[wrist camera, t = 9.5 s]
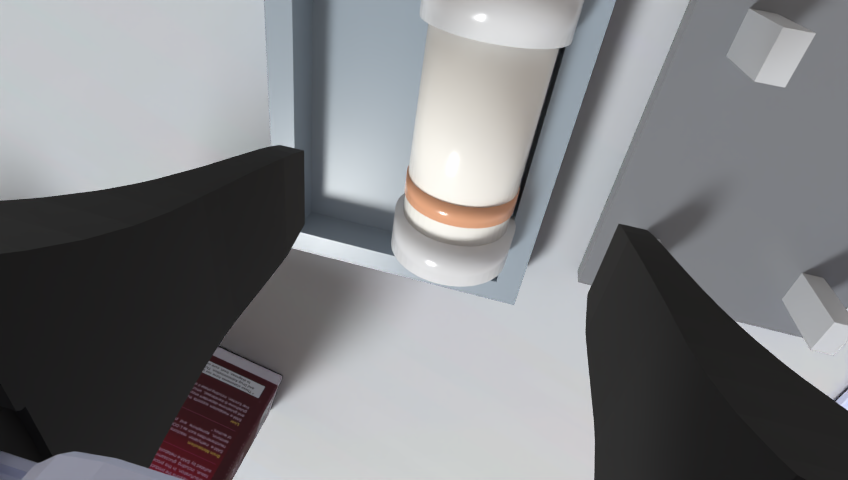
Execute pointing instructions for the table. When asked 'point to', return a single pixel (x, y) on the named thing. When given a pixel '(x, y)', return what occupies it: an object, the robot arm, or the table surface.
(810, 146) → the fuse holder
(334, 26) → the tray
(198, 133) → the table surface
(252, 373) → the supplement box
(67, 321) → the robot arm
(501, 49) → the fuse
